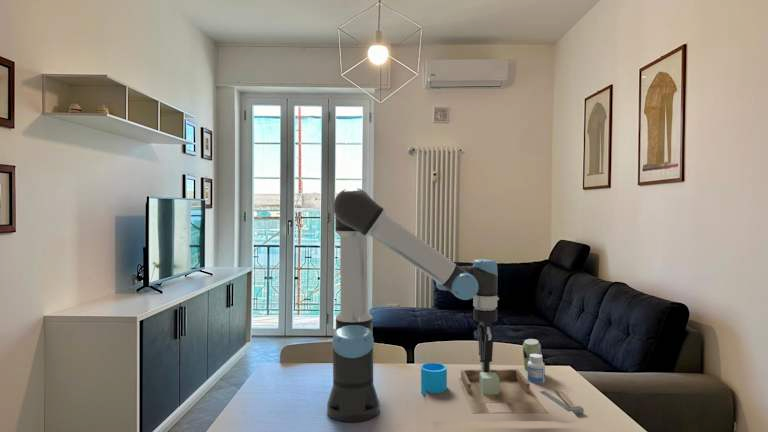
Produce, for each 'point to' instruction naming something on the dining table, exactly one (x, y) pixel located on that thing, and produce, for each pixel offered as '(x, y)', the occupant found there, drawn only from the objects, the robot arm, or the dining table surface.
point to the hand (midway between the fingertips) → (485, 380)
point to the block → (489, 383)
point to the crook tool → (576, 409)
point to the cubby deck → (500, 392)
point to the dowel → (565, 399)
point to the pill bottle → (536, 369)
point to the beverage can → (530, 350)
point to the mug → (433, 378)
